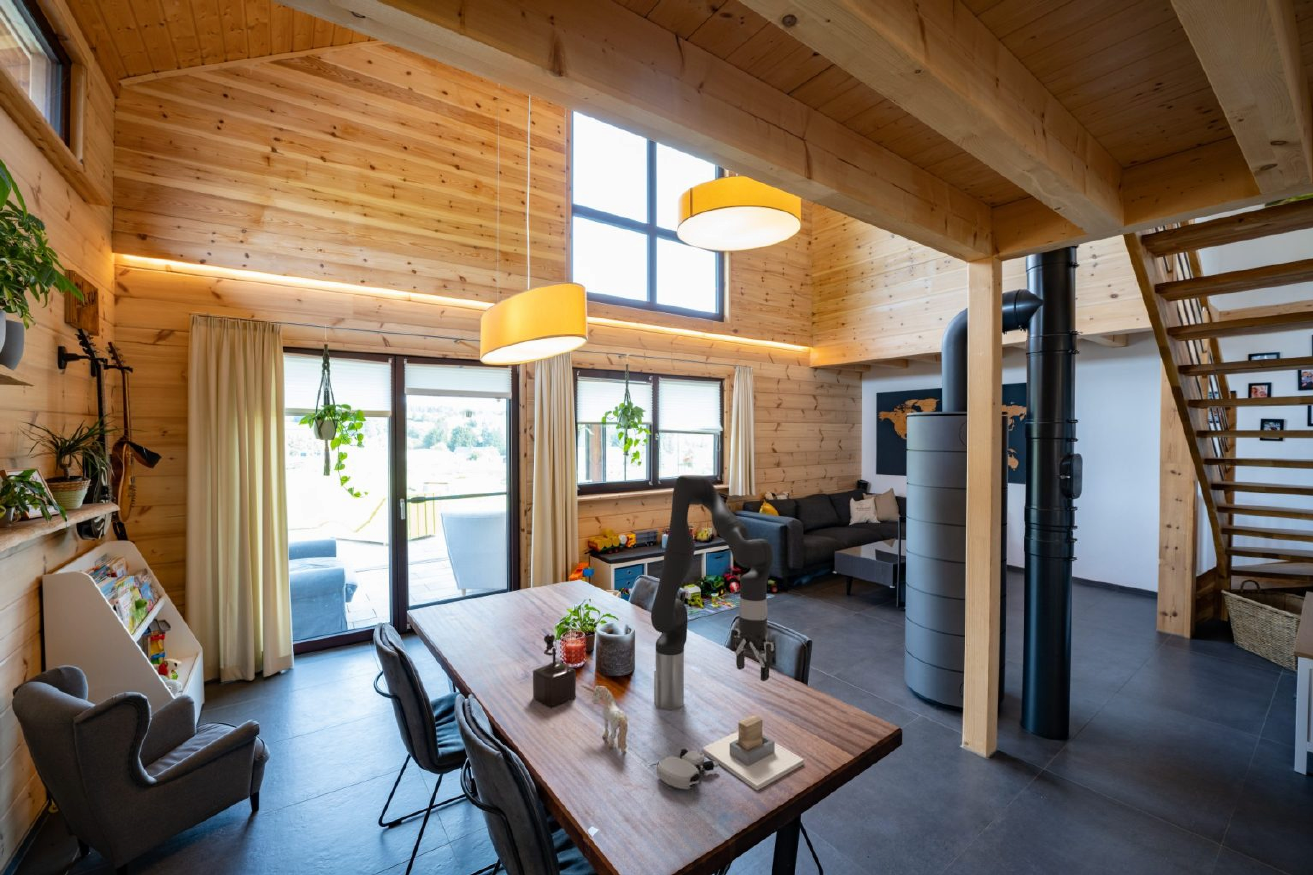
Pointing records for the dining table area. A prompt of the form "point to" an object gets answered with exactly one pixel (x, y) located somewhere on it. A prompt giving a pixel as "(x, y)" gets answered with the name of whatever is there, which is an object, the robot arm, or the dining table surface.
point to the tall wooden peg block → (750, 733)
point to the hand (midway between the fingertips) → (752, 674)
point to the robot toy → (683, 769)
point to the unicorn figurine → (611, 716)
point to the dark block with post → (554, 680)
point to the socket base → (753, 760)
